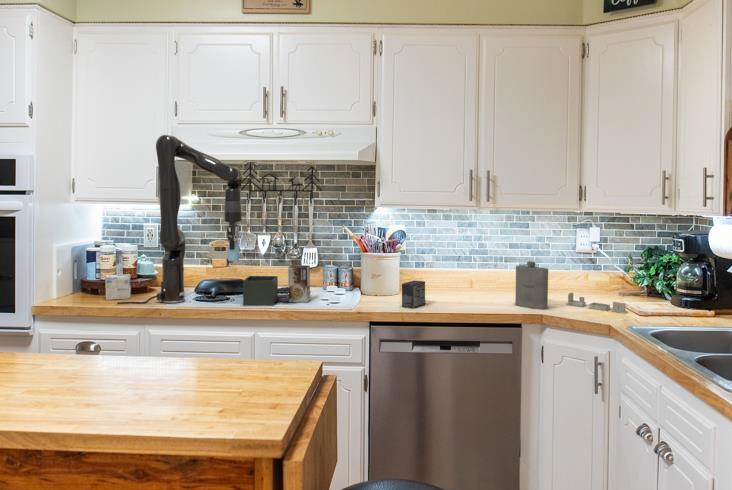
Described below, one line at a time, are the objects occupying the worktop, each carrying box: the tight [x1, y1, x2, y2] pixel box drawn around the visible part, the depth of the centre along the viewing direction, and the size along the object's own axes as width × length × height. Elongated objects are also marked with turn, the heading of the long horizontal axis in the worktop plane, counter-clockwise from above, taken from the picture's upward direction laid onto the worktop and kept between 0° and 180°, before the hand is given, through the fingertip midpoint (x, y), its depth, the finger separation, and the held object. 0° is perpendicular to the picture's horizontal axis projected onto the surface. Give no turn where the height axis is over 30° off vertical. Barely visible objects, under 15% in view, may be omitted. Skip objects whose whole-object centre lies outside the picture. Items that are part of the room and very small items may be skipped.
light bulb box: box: [104, 273, 132, 301], centre depth 286 cm, size 11×7×11 cm, turn 108°
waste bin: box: [242, 275, 279, 307], centre depth 278 cm, size 13×13×11 cm
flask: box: [514, 260, 549, 310], centre depth 272 cm, size 15×6×20 cm, turn 48°
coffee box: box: [287, 264, 311, 303], centre depth 282 cm, size 9×6×16 cm
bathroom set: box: [567, 291, 626, 314], centre depth 269 cm, size 25×5×5 cm, turn 49°
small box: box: [401, 280, 426, 309], centre depth 273 cm, size 11×6×10 cm, turn 145°
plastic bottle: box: [227, 238, 240, 262], centre depth 277 cm, size 5×5×10 cm
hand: (233, 248), depth 277 cm, fingers closed on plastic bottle, 4 cm apart
